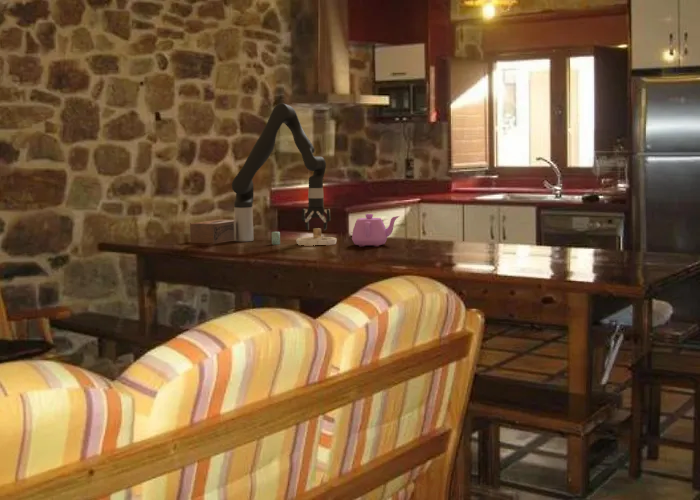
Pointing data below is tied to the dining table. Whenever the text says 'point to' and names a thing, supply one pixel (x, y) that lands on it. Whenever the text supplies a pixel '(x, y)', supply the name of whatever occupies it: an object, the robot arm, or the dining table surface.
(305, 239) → the tray
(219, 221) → the tissue box cover
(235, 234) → the robot arm
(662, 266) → the dining table surface
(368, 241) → the teapot
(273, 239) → the bead teal
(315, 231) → the bead oak
